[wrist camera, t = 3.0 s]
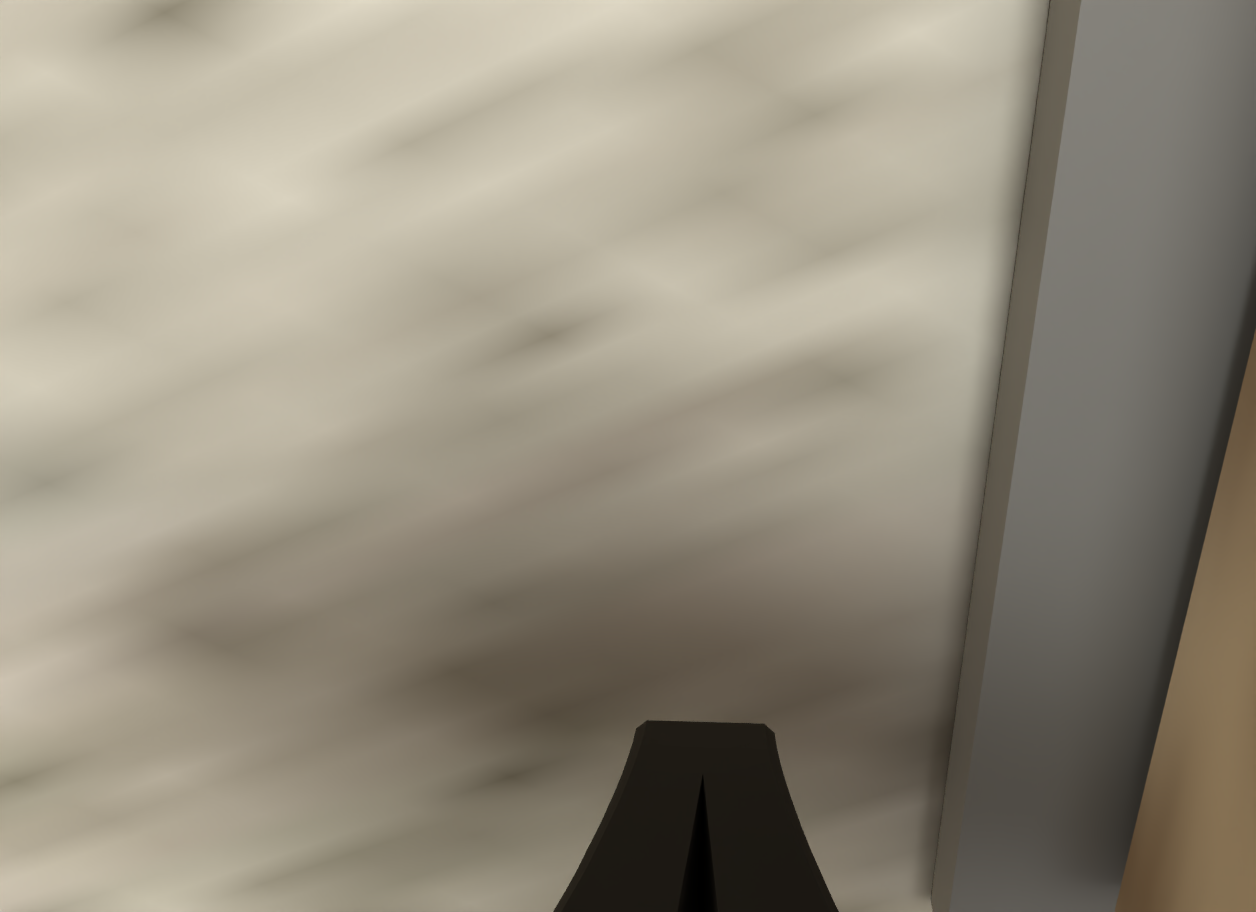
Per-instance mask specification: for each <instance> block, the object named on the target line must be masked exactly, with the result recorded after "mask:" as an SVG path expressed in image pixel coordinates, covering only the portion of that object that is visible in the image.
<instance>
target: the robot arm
mask: <svg viewBox="0 0 1256 912" xmlns="http://www.w3.org/2000/svg"><path fill="white" fill-rule="evenodd" d="M553 912H839V911H838V909H837V907H836V905H835V903H834V901H833V899H832V897H831V894H830V892H829V890H828V888H827V885H826V883H825V881H824V879H823V876H822V874H821V872H820V870H819V867H818V865H817V863H816V861H815V858H814V856H813V854H812V852H811V849H810V847H809V845H808V842H807V840H806V837H805V835H804V832H803V830H802V827H801V825H800V822H799V819H798V816H797V813H796V811H795V808H794V805H793V802H792V800H791V797H790V794H789V791H788V788H787V784H786V781H785V778H784V775H783V771H782V768H781V764H780V760H779V755H778V751H777V746H776V741H775V733H774V732H773V731H772V730H770V729H769V728H768V727H767V726H766V725H765V724H751V723H717V722H683V721H648V720H647V721H646V722H644V723H643V724H642V725H640V726H639V727H638V728H636V732H635V736H634V740H633V744H632V747H631V750H630V753H629V756H628V759H627V762H626V765H625V768H624V770H623V773H622V775H621V778H620V780H619V783H618V785H617V788H616V790H615V793H614V795H613V797H612V799H611V802H610V804H609V806H608V808H607V811H606V813H605V815H604V817H603V820H602V822H601V824H600V826H599V828H598V830H597V832H596V834H595V836H594V838H593V840H592V842H591V843H590V845H589V847H588V849H587V851H586V853H585V855H584V857H583V859H582V861H581V863H580V865H579V867H578V869H577V871H576V873H575V875H574V877H573V879H572V880H571V882H570V884H569V886H568V888H567V889H566V891H565V893H564V894H563V896H562V898H561V899H560V901H559V903H558V905H557V906H556V908H555V910H554V911H553Z"/></svg>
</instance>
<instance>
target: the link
mask: <svg viewBox="0 0 1256 912" xmlns="http://www.w3.org/2000/svg"><path fill="white" fill-rule="evenodd" d="M1115 912H1256V329H1255V334H1254V338H1253V342H1252V346H1251V350H1250V354H1249V358H1248V362H1247V367H1246V371H1245V375H1244V379H1243V383H1242V387H1241V391H1240V395H1239V400H1238V404H1237V408H1236V412H1235V416H1234V420H1233V424H1232V428H1231V433H1230V437H1229V441H1228V445H1227V449H1226V453H1225V457H1224V462H1223V466H1222V470H1221V474H1220V478H1219V482H1218V486H1217V490H1216V495H1215V499H1214V503H1213V507H1212V511H1211V515H1210V519H1209V523H1208V528H1207V532H1206V536H1205V540H1204V544H1203V548H1202V552H1201V556H1200V561H1199V565H1198V569H1197V573H1196V577H1195V581H1194V585H1193V590H1192V594H1191V598H1190V602H1189V606H1188V610H1187V614H1186V618H1185V623H1184V627H1183V631H1182V635H1181V639H1180V643H1179V647H1178V651H1177V656H1176V660H1175V664H1174V668H1173V672H1172V676H1171V680H1170V684H1169V689H1168V693H1167V697H1166V701H1165V705H1164V709H1163V713H1162V718H1161V722H1160V726H1159V730H1158V734H1157V738H1156V742H1155V746H1154V751H1153V755H1152V759H1151V763H1150V767H1149V771H1148V775H1147V779H1146V784H1145V788H1144V792H1143V796H1142V800H1141V804H1140V808H1139V812H1138V817H1137V821H1136V825H1135V829H1134V833H1133V837H1132V841H1131V846H1130V850H1129V854H1128V858H1127V862H1126V866H1125V870H1124V874H1123V879H1122V883H1121V887H1120V891H1119V895H1118V899H1117V903H1116V907H1115Z"/></svg>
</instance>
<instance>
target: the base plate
mask: <svg viewBox="0 0 1256 912" xmlns="http://www.w3.org/2000/svg"><path fill="white" fill-rule="evenodd" d="M1255 329H1256V0H1051V1H1050V8H1049V16H1048V23H1047V31H1046V38H1045V46H1044V53H1043V61H1042V68H1041V76H1040V83H1039V91H1038V98H1037V106H1036V113H1035V121H1034V128H1033V136H1032V143H1031V151H1030V158H1029V166H1028V173H1027V181H1026V188H1025V196H1024V203H1023V211H1022V218H1021V226H1020V233H1019V241H1018V248H1017V256H1016V263H1015V271H1014V278H1013V286H1012V293H1011V301H1010V308H1009V316H1008V323H1007V331H1006V338H1005V346H1004V353H1003V361H1002V368H1001V376H1000V383H999V391H998V398H997V406H996V413H995V421H994V428H993V436H992V443H991V451H990V458H989V466H988V473H987V481H986V488H985V496H984V503H983V511H982V518H981V526H980V533H979V541H978V548H977V556H976V563H975V571H974V578H973V586H972V593H971V601H970V608H969V616H968V623H967V631H966V638H965V646H964V653H963V661H962V668H961V676H960V683H959V691H958V698H957V706H956V713H955V721H954V728H953V736H952V743H951V751H950V758H949V766H948V773H947V781H946V788H945V796H944V803H943V811H942V818H941V826H940V833H939V841H938V848H937V856H936V863H935V871H934V878H933V886H932V893H931V903H932V909H933V912H1115V907H1116V903H1117V899H1118V895H1119V891H1120V887H1121V883H1122V879H1123V874H1124V870H1125V866H1126V862H1127V858H1128V854H1129V850H1130V846H1131V841H1132V837H1133V833H1134V829H1135V825H1136V821H1137V817H1138V812H1139V808H1140V804H1141V800H1142V796H1143V792H1144V788H1145V784H1146V779H1147V775H1148V771H1149V767H1150V763H1151V759H1152V755H1153V751H1154V746H1155V742H1156V738H1157V734H1158V730H1159V726H1160V722H1161V718H1162V713H1163V709H1164V705H1165V701H1166V697H1167V693H1168V689H1169V684H1170V680H1171V676H1172V672H1173V668H1174V664H1175V660H1176V656H1177V651H1178V647H1179V643H1180V639H1181V635H1182V631H1183V627H1184V623H1185V618H1186V614H1187V610H1188V606H1189V602H1190V598H1191V594H1192V590H1193V585H1194V581H1195V577H1196V573H1197V569H1198V565H1199V561H1200V556H1201V552H1202V548H1203V544H1204V540H1205V536H1206V532H1207V528H1208V523H1209V519H1210V515H1211V511H1212V507H1213V503H1214V499H1215V495H1216V490H1217V486H1218V482H1219V478H1220V474H1221V470H1222V466H1223V462H1224V457H1225V453H1226V449H1227V445H1228V441H1229V437H1230V433H1231V428H1232V424H1233V420H1234V416H1235V412H1236V408H1237V404H1238V400H1239V395H1240V391H1241V387H1242V383H1243V379H1244V375H1245V371H1246V367H1247V362H1248V358H1249V354H1250V350H1251V346H1252V342H1253V338H1254V334H1255Z"/></svg>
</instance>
